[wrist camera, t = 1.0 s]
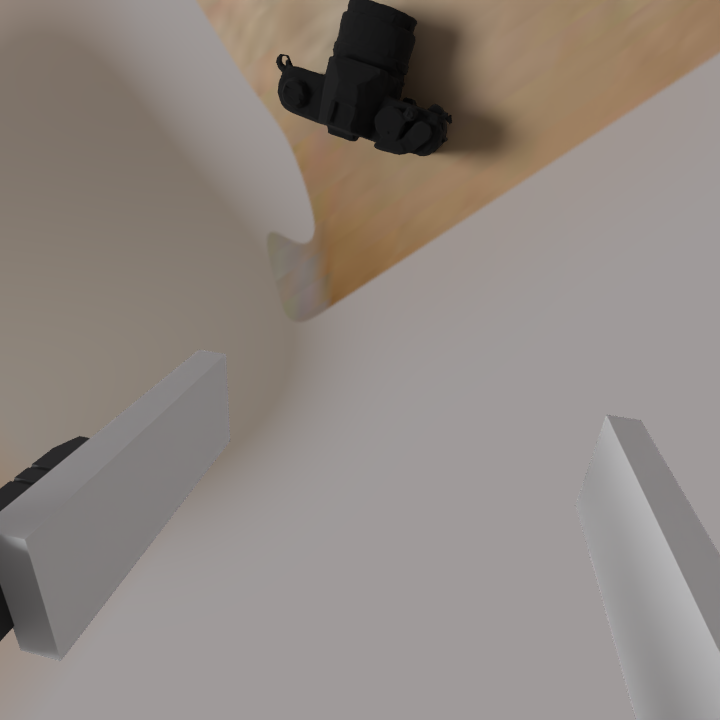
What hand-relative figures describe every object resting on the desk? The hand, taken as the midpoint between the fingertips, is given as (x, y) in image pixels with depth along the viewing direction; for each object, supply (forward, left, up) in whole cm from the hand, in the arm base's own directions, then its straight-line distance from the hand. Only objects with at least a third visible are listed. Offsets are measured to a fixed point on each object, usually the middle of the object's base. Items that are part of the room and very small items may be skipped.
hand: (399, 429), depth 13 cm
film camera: (-10, -8, -40) cm, 42 cm away
